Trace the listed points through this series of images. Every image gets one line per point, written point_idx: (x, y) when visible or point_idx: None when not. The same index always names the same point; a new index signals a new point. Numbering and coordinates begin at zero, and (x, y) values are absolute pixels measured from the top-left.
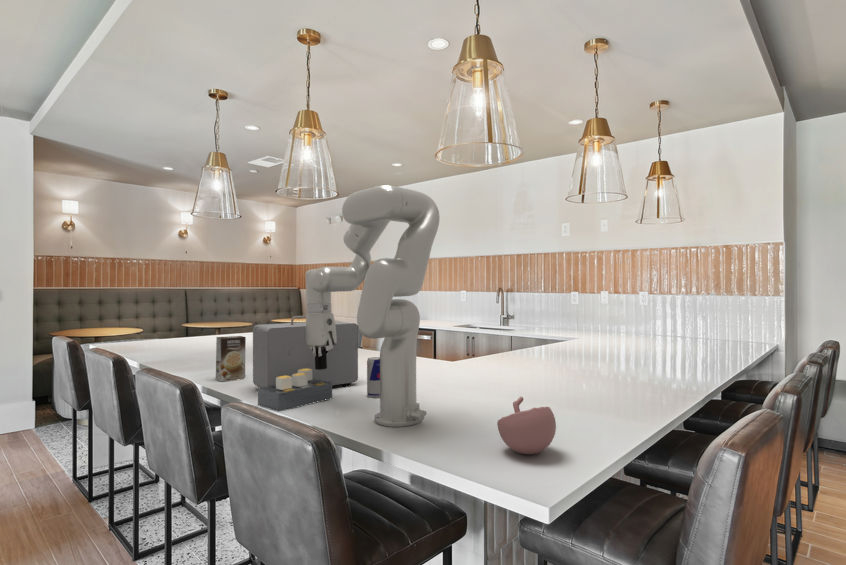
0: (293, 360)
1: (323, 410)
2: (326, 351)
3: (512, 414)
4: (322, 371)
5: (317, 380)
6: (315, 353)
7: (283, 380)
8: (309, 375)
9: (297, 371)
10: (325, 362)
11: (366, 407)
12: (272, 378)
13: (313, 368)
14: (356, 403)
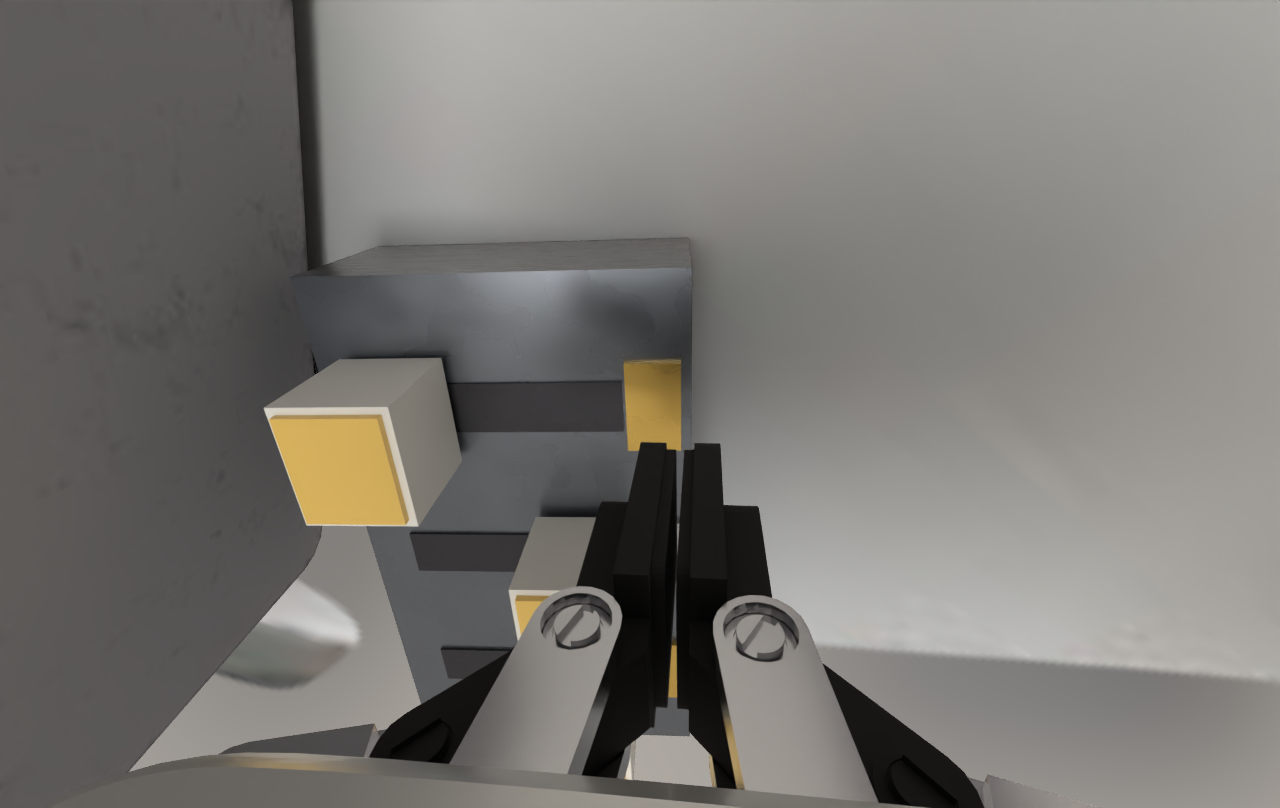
0: (41, 557)
1: (902, 489)
2: (867, 751)
3: None
4: (145, 46)
5: (463, 305)
6: (614, 771)
7: (633, 765)
8: (426, 417)
9: (173, 422)
10: (762, 544)
11: (1177, 236)
12: (241, 607)
13: (119, 209)
14: (1005, 201)
